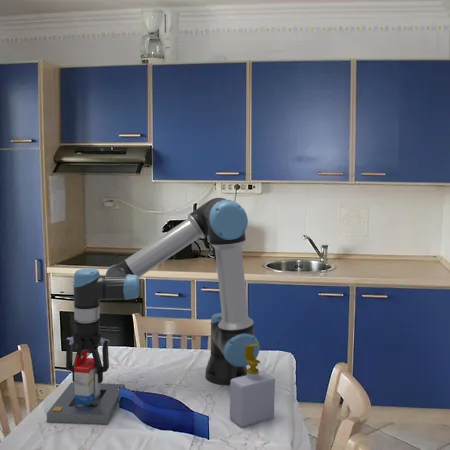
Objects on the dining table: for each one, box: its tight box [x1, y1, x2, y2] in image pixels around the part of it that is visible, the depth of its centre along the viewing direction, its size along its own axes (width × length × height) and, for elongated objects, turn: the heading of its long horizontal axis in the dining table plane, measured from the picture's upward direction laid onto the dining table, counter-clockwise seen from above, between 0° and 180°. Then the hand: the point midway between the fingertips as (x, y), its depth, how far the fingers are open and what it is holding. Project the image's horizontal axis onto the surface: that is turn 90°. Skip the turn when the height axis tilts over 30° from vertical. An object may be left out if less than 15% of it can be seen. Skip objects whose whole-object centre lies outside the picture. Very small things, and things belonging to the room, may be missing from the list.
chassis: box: [46, 381, 126, 425], centre depth 171 cm, size 18×22×3 cm
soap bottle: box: [229, 343, 276, 428], centre depth 163 cm, size 12×7×23 cm, turn 123°
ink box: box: [74, 349, 100, 405], centre depth 170 cm, size 8×5×15 cm, turn 169°
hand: (87, 391), depth 170 cm, fingers closed on ink box, 5 cm apart
